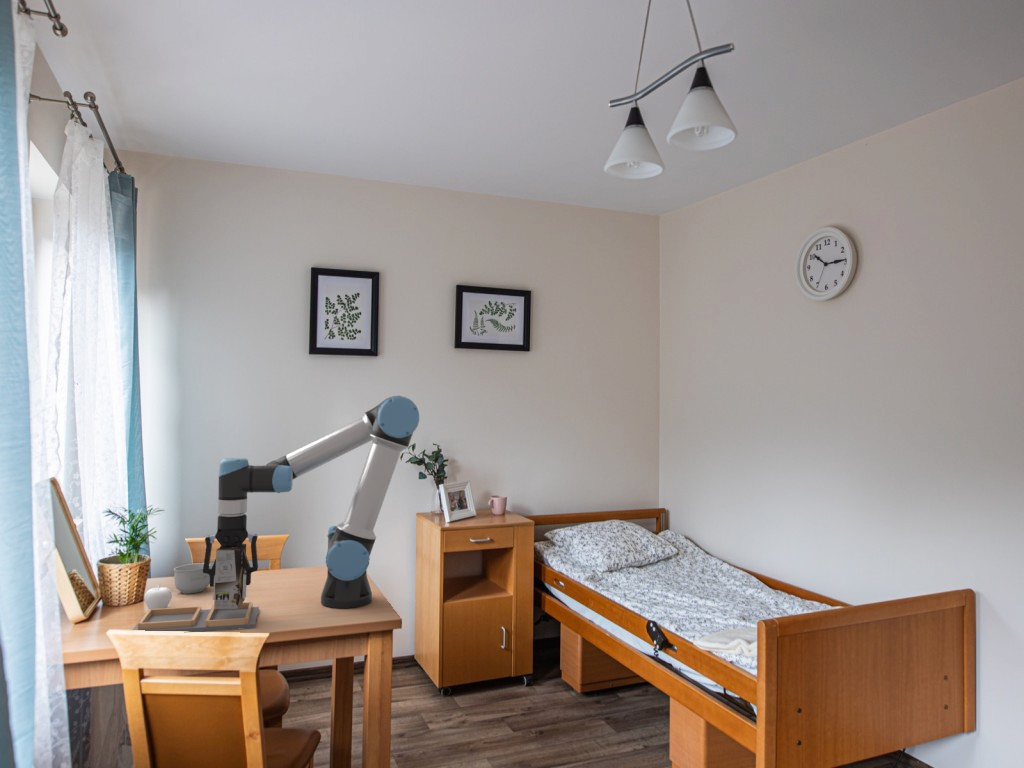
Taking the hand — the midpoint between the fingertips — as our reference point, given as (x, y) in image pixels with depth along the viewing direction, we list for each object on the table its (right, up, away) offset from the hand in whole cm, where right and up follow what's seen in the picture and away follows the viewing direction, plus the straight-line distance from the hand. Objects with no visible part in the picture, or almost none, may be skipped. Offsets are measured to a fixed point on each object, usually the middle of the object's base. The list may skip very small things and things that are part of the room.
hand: (230, 597), depth 201 cm
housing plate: (-8, -6, -2) cm, 10 cm away
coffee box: (0, -2, 0) cm, 2 cm away
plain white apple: (-24, -6, +9) cm, 27 cm away
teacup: (-23, -7, +31) cm, 39 cm away
